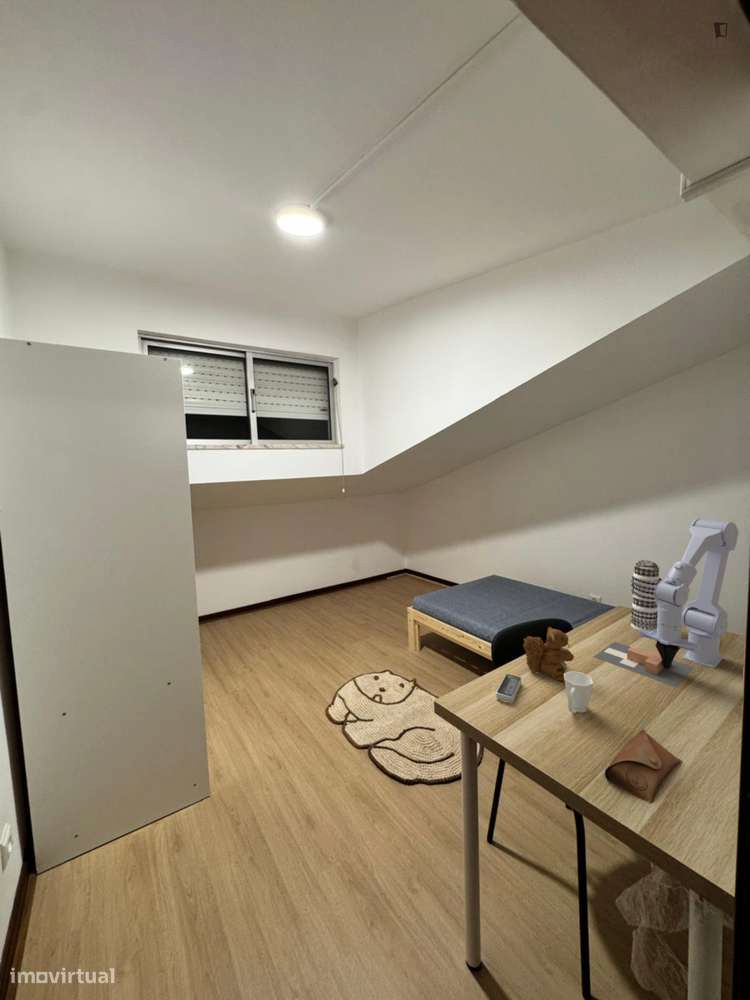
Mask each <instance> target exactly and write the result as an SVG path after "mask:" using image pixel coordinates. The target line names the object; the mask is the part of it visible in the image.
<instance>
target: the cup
mask: <svg viewBox="0 0 750 1000" xmlns="http://www.w3.org/2000/svg"><path fill="white" fill-rule="evenodd" d="M564 679H565V682H564V683H565V685H564V686H565V692H566V697H567V701H568V703H567V704H568V706H567V707H568V708H567V709H568V711H569V712H571V713H572V714H576V713H581V714H582V713H585V712H588V708H587V707H589V703H590V700H591V696H592V690H593V687H594V681H593V677H592V676H589V675H587V674H585V673H583V672H580V671H575V670H574V671H573V670H569V671H568V672H565V673H564Z"/></svg>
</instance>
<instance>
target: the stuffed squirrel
mask: <svg viewBox="0 0 750 1000" xmlns="http://www.w3.org/2000/svg"><path fill="white" fill-rule="evenodd" d="M523 642H524V643H523V644H522V645H523V649H524V651H525V652H526V653H525V656H526V666H527V667H528V668H529V670H531V671H533V673H536V672H539V673H542V674H544V675H546V676H547V677H548V678H549V677H550V678H552V679H553V680H556V681H560V682H564V683H565V679H564V673H566V666H567V663H566V662H572V661H573V660H574V659H575V655H574V654H573V653H572V652H571V651H570V650H569V649H570V648H571V647H570V645H569V636H568V635H567V634H566V633H565V632H563V631H561V630H560V629H556V628H552V627H550V626H549V627H548V628H547V633H546V642H545V643H544V641H543V640H542V637H538V636H536V637H535V636H533V637H532V636H529V635H528V636H526V638H523ZM564 647H568V648H564Z"/></svg>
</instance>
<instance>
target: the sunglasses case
mask: <svg viewBox="0 0 750 1000" xmlns="http://www.w3.org/2000/svg"><path fill="white" fill-rule="evenodd" d="M680 763H682V759H680V758H677V757H676V756H675V755H674V754H672V753H671V752H670V751H669V750H668V749H667V748H666V747H664V745H662V744H661V743H659V742H658V741H657V740H656V739H655V738H653V737H652V736H651V735H649V734H648V733H647V731H646V729H641V730H640V731H639V732H638V733H637V734H636V735H634V737H633V738H631V739H630V740H629V742H627V744H625V746H624V747H623V748H622V749H621V750H620V751H619V752H618V753H617V755H616V756H615V757H614V758H613V759H612V761H611V762H610V763H609V765H608V766H607V767H606V768H605V770H604V776H605V779H606V780H607V782H610V783H612V784H613V785H615V786H617V787H619V788H621V789H622V790H625V791H626V792H628V793H629V794H631V795H633V796H634V797H637V798H638V799H640V800H642V801H644V802H647V803H648V804H650V805H651V804H652V803H653V802H654V799H655V796H656V795H657V792H658V790H659V788H660V787H661V786H662V784H663V782H664V781H665V780H666V779H667V777H668V776H669V775H670V773H672V771H673V770H674V768H676V767H677V765H680Z"/></svg>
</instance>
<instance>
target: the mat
mask: <svg viewBox="0 0 750 1000" xmlns="http://www.w3.org/2000/svg"><path fill="white" fill-rule="evenodd" d="M630 647H631V646H629V645H627V644H623V643H620V642H617V641H613V642H612V643H610V644H609V645H607V646H606V647H605V648H603V649H602V650H600V651H599V652H598V653H597V654H595V655H594V656H593V658H595V659H598V660H601V661H603V662H606V663H609V664H611V665H614V666H618V667H619V668H621V669H625V670H627V671H630V672H633V673H636V674H639V675H641V676H644V677H647V678H649V679H652V680H656V681H657V682H660V683H664V684H666V685H669V686H672V687H674V688H677V687H678V686H679V685H680V684H681V682H683V680H685V678H686V677H687V676H688V675H689V674H690V672H692V671H693V670H694V668H695V667H694V666H691V665H688V664H685V663H682V662H679V661H676V660H673V661H672V665H671V668H670V669H667V668H663V669H662V670H661V671H660V672H659V673H658V674H657V675H656V674H653V673H650V672H647V671H645V665H643V664H640V663H637V662H634V661H631V660H628V659H627V650H628V649H629V648H630Z"/></svg>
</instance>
